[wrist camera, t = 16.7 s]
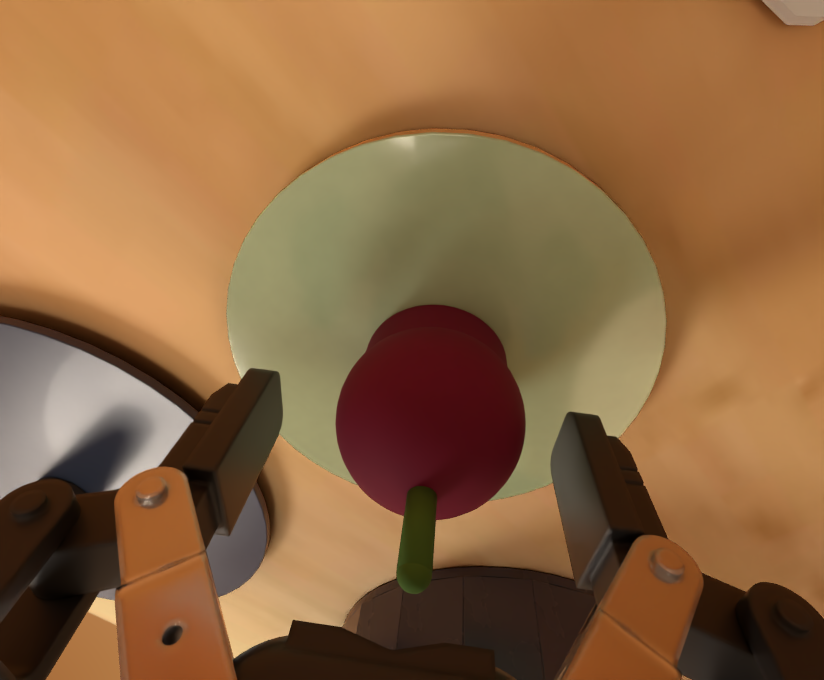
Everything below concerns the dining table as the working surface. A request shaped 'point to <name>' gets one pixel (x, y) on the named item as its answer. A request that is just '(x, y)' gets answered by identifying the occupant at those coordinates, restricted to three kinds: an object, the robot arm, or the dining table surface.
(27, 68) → the dining table surface
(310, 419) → the plate
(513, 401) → the beet
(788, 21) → the butter knife
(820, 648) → the robot arm
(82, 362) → the pan lid
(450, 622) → the pan
